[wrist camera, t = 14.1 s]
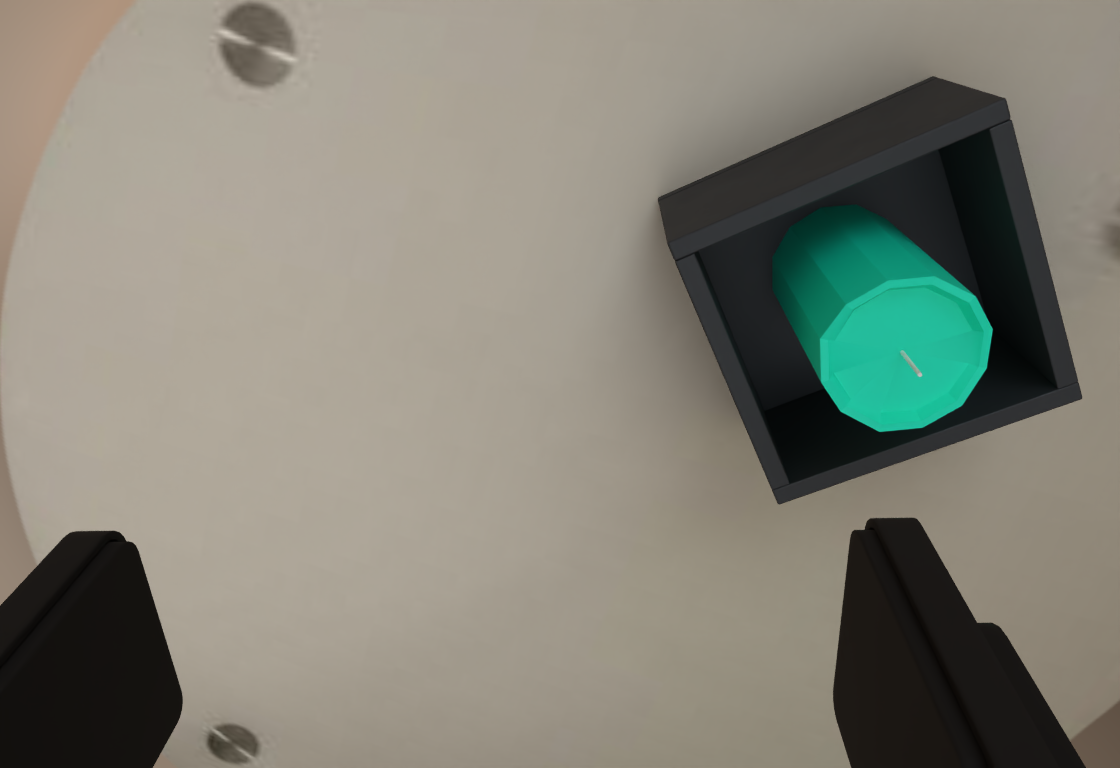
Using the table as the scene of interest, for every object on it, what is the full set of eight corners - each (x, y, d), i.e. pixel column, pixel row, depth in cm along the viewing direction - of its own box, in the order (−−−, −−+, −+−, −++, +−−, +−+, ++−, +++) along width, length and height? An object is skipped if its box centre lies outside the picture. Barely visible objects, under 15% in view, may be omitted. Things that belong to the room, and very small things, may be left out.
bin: (657, 197, 40) (667, 243, 33) (933, 75, 37) (1006, 97, 31) (752, 423, 45) (778, 505, 38) (1005, 330, 42) (1083, 399, 35)
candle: (839, 175, 39) (929, 252, 28) (932, 260, 40) (1051, 365, 29) (742, 276, 41) (791, 383, 30) (834, 353, 42) (912, 483, 31)
